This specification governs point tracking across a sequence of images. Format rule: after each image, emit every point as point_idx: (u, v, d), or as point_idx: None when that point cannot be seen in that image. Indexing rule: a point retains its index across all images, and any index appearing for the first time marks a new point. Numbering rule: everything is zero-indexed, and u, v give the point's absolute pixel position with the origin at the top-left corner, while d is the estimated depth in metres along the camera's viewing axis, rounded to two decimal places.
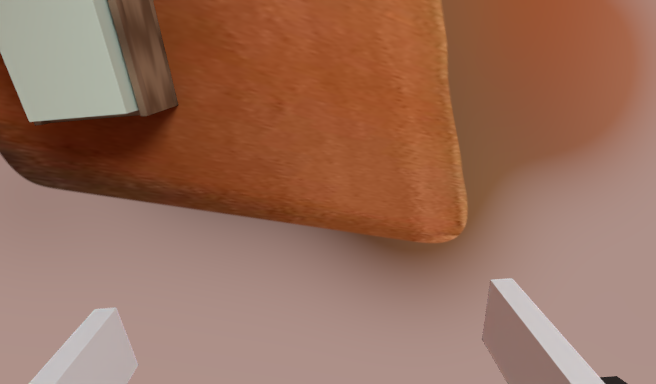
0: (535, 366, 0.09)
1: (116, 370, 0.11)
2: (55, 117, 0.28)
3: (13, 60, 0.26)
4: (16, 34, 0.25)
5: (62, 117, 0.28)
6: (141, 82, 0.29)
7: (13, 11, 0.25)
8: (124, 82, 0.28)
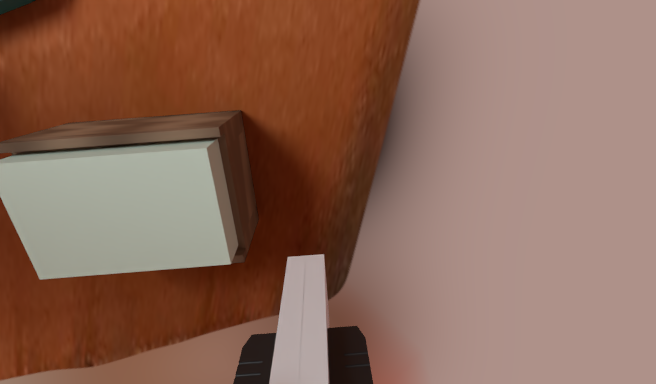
0: None
1: None
2: (222, 235, 0.22)
3: (158, 260, 0.23)
4: (128, 250, 0.22)
5: (221, 227, 0.22)
6: (177, 128, 0.21)
7: (102, 245, 0.22)
8: (172, 146, 0.21)
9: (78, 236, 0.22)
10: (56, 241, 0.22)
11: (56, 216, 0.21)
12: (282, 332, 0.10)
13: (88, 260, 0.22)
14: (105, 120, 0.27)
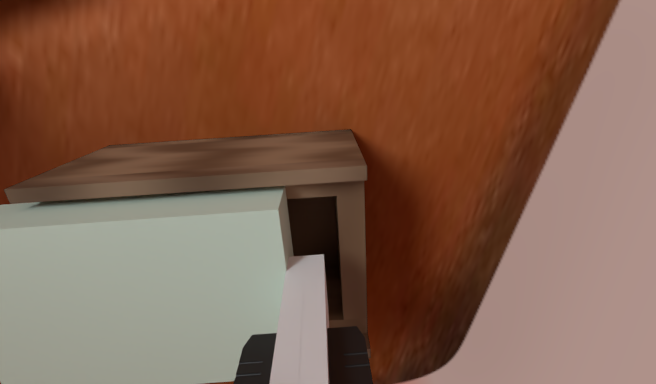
0: None
1: None
2: None
3: (190, 371, 0.15)
4: (144, 358, 0.14)
5: None
6: (295, 166, 0.13)
7: (105, 352, 0.14)
8: (217, 202, 0.13)
9: (65, 339, 0.14)
10: (32, 346, 0.14)
11: (31, 311, 0.13)
12: (282, 332, 0.10)
13: (83, 372, 0.14)
14: (161, 142, 0.19)
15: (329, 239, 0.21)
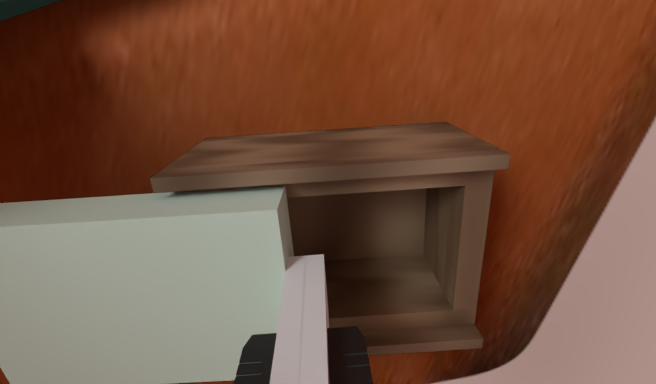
0: None
1: None
2: None
3: (191, 370, 0.15)
4: (145, 355, 0.14)
5: None
6: (434, 155, 0.13)
7: (106, 349, 0.14)
8: (217, 202, 0.13)
9: (68, 336, 0.14)
10: (36, 342, 0.14)
11: (35, 307, 0.13)
12: (282, 332, 0.10)
13: (85, 368, 0.15)
14: (257, 135, 0.19)
15: (417, 232, 0.21)
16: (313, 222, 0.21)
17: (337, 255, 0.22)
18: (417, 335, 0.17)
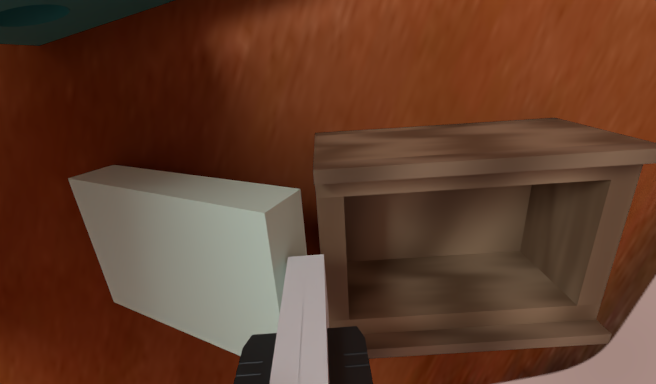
0: None
1: None
2: None
3: (208, 332, 0.17)
4: (180, 308, 0.17)
5: None
6: (591, 148, 0.13)
7: (158, 293, 0.18)
8: (232, 194, 0.14)
9: (137, 274, 0.18)
10: (122, 272, 0.19)
11: (120, 247, 0.18)
12: (282, 332, 0.10)
13: (147, 302, 0.19)
14: (367, 130, 0.19)
15: (516, 228, 0.21)
16: (414, 218, 0.21)
17: (434, 251, 0.22)
18: (542, 330, 0.17)
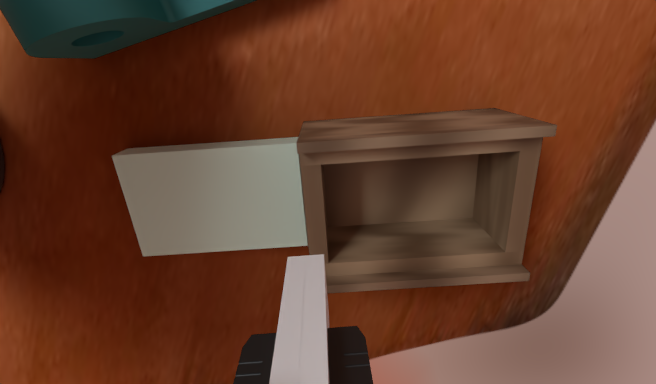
0: None
1: None
2: (302, 219, 0.25)
3: (246, 241, 0.26)
4: (221, 231, 0.26)
5: (302, 213, 0.25)
6: (500, 126, 0.18)
7: (200, 227, 0.25)
8: (264, 142, 0.24)
9: (180, 219, 0.25)
10: (161, 222, 0.25)
11: (164, 200, 0.25)
12: (282, 332, 0.10)
13: (186, 240, 0.26)
14: None
15: (468, 198, 0.26)
16: (384, 190, 0.26)
17: (402, 218, 0.27)
18: (477, 271, 0.22)
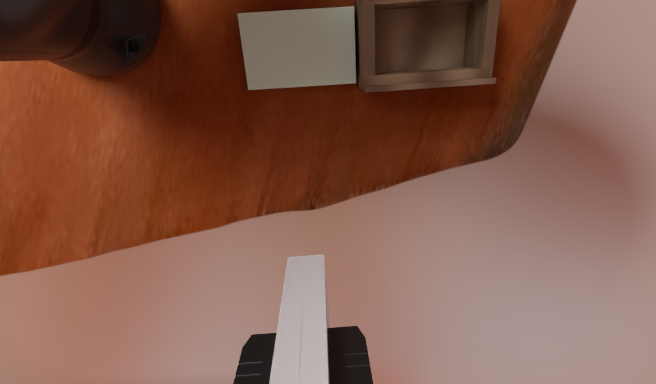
0: None
1: None
2: (354, 63, 0.39)
3: (316, 79, 0.40)
4: (301, 71, 0.40)
5: (354, 58, 0.39)
6: None
7: (287, 68, 0.39)
8: None
9: (275, 61, 0.39)
10: (263, 64, 0.39)
11: (266, 47, 0.38)
12: (282, 332, 0.10)
13: (277, 77, 0.40)
14: None
15: (459, 52, 0.40)
16: (406, 45, 0.40)
17: (417, 66, 0.41)
18: (465, 79, 0.36)
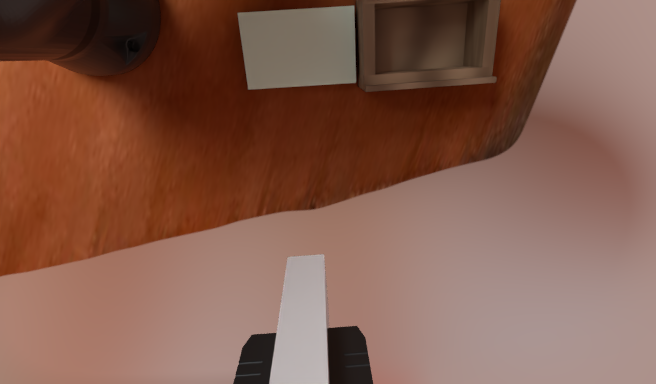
0: None
1: None
2: (354, 62, 0.39)
3: (316, 78, 0.40)
4: (301, 71, 0.40)
5: (354, 57, 0.39)
6: None
7: (287, 67, 0.39)
8: None
9: (275, 60, 0.39)
10: (263, 63, 0.39)
11: (266, 46, 0.38)
12: (282, 332, 0.10)
13: (277, 77, 0.40)
14: None
15: (460, 51, 0.40)
16: (406, 44, 0.40)
17: (417, 66, 0.41)
18: (465, 78, 0.36)
